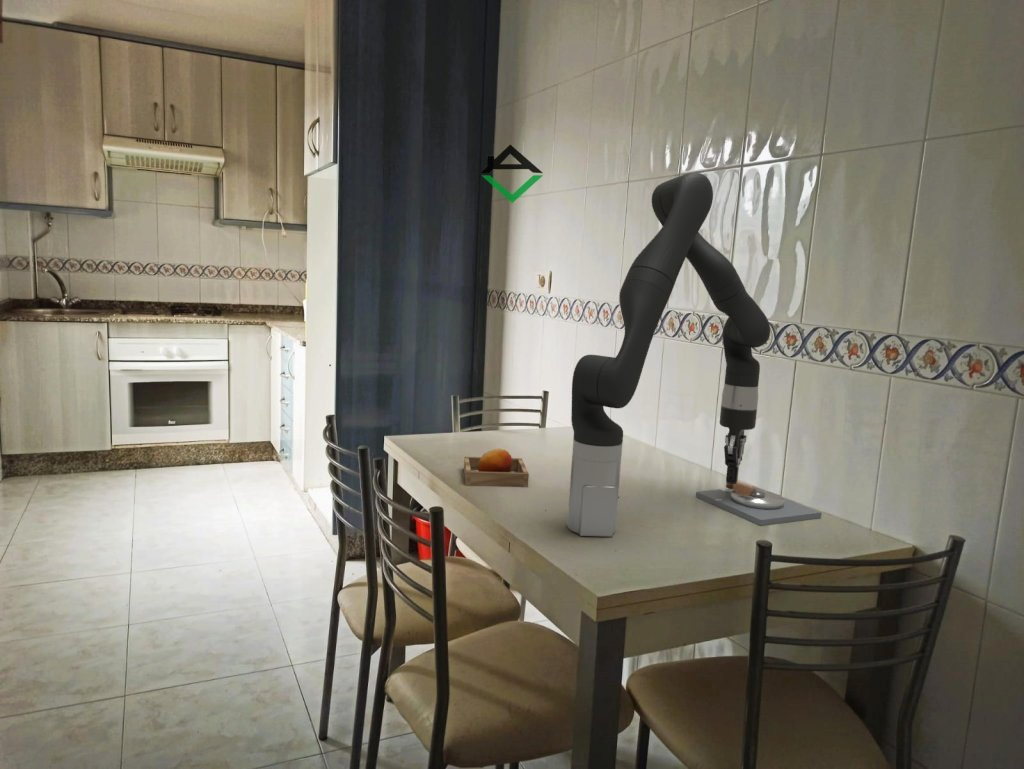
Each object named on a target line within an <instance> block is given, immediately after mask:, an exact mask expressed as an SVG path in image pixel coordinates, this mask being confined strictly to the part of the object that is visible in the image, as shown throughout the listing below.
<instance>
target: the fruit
mask: <svg viewBox="0 0 1024 769" xmlns="http://www.w3.org/2000/svg"><path fill="white" fill-rule="evenodd" d="M480 457H481V459H480V460H479V463H478V470H477V471H480V472H512V471H511V468H512V458H513V457H512V455H511V454H510V453H509V452H508V451H507V450H505V449H501V448H495V449H494V448H493V449H492V450H488V451H487V452H484V453H483V454H482V456H480Z"/></svg>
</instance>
